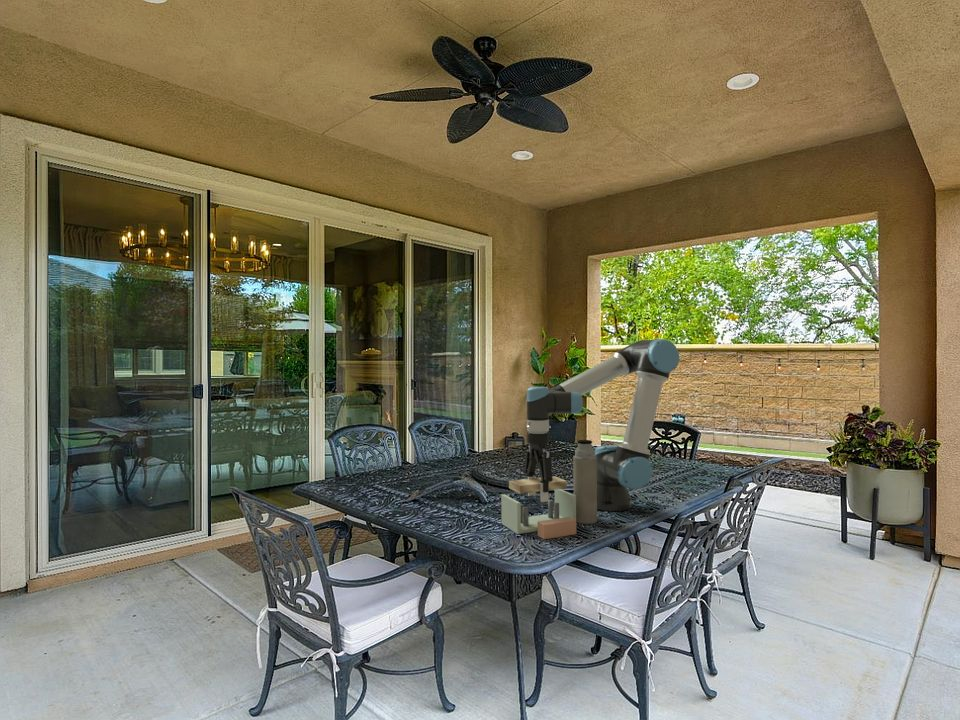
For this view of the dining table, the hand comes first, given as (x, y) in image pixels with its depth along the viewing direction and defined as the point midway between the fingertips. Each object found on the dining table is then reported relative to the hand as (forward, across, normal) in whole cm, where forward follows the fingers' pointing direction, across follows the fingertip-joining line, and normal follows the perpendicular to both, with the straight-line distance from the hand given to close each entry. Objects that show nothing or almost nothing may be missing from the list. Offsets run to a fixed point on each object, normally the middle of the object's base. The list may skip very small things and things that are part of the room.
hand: (538, 498), depth 186 cm
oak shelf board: (-3, 0, 0) cm, 3 cm away
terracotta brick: (+9, +12, 0) cm, 15 cm away
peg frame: (+9, 0, 0) cm, 9 cm away
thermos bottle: (+9, +3, +17) cm, 20 cm away
